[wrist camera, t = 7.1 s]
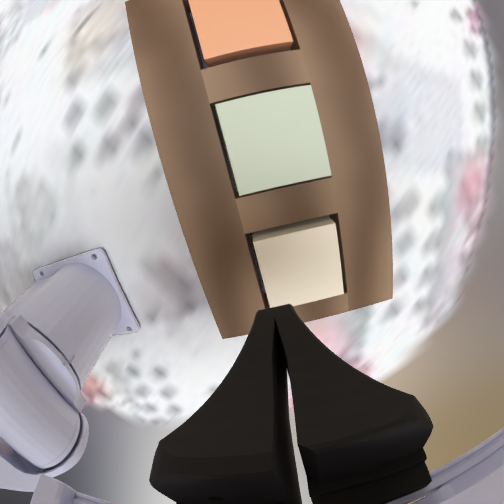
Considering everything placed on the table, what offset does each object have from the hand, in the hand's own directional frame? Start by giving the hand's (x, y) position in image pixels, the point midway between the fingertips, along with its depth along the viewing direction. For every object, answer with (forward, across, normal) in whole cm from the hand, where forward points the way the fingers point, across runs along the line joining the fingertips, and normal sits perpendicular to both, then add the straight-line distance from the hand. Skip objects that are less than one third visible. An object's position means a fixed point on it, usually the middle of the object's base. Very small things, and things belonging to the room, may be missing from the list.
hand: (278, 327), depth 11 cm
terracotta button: (+9, -2, -15) cm, 17 cm away
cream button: (+9, -2, +1) cm, 9 cm away
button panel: (+10, -2, -7) cm, 12 cm away
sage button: (+8, -2, -7) cm, 11 cm away
